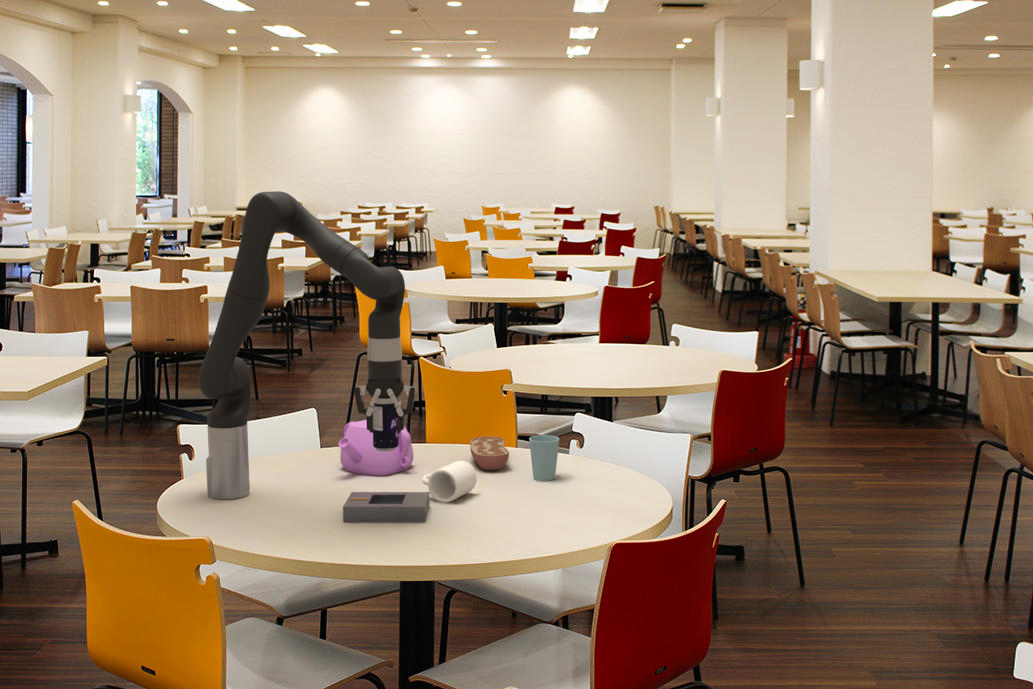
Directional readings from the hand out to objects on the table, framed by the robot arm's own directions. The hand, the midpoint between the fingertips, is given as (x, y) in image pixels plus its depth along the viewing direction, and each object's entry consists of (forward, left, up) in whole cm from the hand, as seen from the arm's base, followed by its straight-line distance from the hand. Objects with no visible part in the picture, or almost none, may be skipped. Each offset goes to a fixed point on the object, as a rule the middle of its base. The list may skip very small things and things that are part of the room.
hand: (385, 431), depth 239 cm
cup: (+36, +32, -19) cm, 52 cm away
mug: (+12, +15, -19) cm, 27 cm away
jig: (0, 0, -19) cm, 19 cm away
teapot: (-9, +41, -19) cm, 46 cm away
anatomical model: (+21, +48, -19) cm, 56 cm away
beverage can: (0, 0, -4) cm, 4 cm away
